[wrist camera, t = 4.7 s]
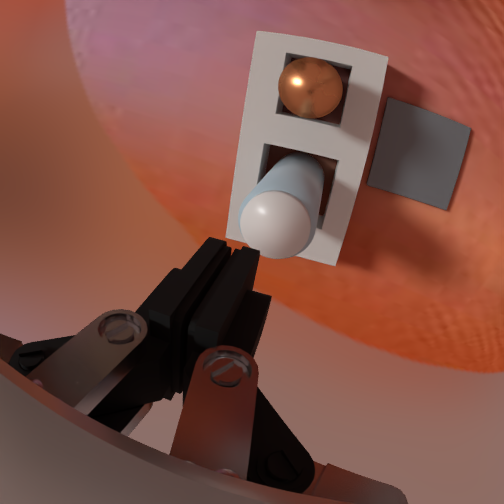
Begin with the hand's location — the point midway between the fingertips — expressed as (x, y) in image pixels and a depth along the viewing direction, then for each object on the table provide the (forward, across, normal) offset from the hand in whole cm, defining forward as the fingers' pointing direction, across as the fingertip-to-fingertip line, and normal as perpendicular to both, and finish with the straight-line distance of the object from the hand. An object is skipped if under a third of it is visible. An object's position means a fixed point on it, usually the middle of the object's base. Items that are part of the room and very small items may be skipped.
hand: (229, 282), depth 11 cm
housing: (+20, 0, -2) cm, 20 cm away
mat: (+20, -10, -4) cm, 22 cm away
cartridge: (+20, 0, +1) cm, 20 cm away
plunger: (+19, 0, -7) cm, 20 cm away
